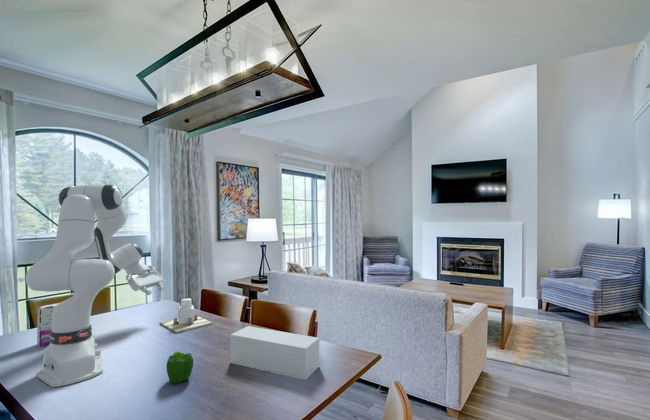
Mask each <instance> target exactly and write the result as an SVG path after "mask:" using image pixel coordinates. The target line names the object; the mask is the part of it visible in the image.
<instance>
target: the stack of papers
mask: <svg viewBox="0 0 650 420" xmlns="http://www.w3.org/2000/svg"><path fill="white" fill-rule="evenodd" d="M229 336H230V339H229V340H230V348H229V350H230V352H229V353H230V356H229V358H230V360H229V363H230V364H234V365H238V366H243V367H247V368H252V369H255V368H256V369H255V370H260V369H261V370H260V371H264V370H266V371H265V372H268V371H270V372H269V373H273V372H274V374H277V373H278V374H277V375H281V374H283V375H282V376H286V375H287V376H286V377H290V376H291V378H296V379H299V380H305V381H306V380H308V379H309V378H310V377H311V375H312V374H314V373H315V372H316V371H317V370H318V368H320V338H319V337H315V336H310V335H304V334H298V333H293V332H292V333H291V332H286V331H279V330H275V329H268V328H263V327H262V328H261V327H256V326H249V325H248V326H246V327H244V328H241V329H238V330H237V331H235V332H233V333H230V335H229Z"/></svg>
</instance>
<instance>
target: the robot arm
mask: <svg viewBox="0 0 650 420" xmlns="http://www.w3.org/2000/svg"><path fill="white" fill-rule="evenodd" d="M58 202H59V205H60V211H59V214H58V220H57V230H56V235H55V240H54V243H53V246H52V247H51V250H49V252H48V253H47V254H46V255H45V256H44V257H43V258H42V259H40V260H39V261H37V262H36V263H34V264H32V265H31V266H30V267H29V268H28V270H27V272H26V274H25V283H26V284H27V286H28V288H29V289H30V290H31V291H35V292H36V291H37V292H46V293H49V292H61V291H73V295H72V296H70V297H68V298H66V299H65V300H63V301H61V302H58V303H59V304H58V305H56V306H55V308H54V309H53V311H52V330H51V331H50V337H49V338H50V342H51V343H50V344H49V345H47V347H45V348H44V350H43V360H42V369H41V370H38V371H37V372H36V373H35V377H36V378H37V379H39V380H41V381H42V382H43V383H45V384H46V385H47V386H49V387H51V388H57V387H63V386H68V385H72V384H76V383H79V382H83V381H86V380H88V379H92V378H94V377H97V376H98V375H101V374H102V373H103V362H102V360H103V359H102V356H101V349H100V348H99V349H96V348H98V347H99V345H98V343H96V338H95V337H94V336H92V335H93V333H92V332H93V328H92V324H91V315H92V314H91V313H92V307H93V303H94V301H95V299H96V297H97V295H98V294H99V293H100V292H101V291H102V290H103V289H104V288H105V287H107V286H108V285H109V284H110V283H111V282H112V281H113V280H114V277H115V275H116V274H118V273H119V272H121V271H122V270H124V271H125V272H126V277H125V280H126V282H127V283H128V285H129V287H130V289H132V290H133V292H138V291H141V292H143V293H145V294H146V295H147V296H150V295H151V294H152V293H153V292H152V290H151V289H148V288H152V287H155V286H156V287H157V288H158V289H157V291H159V292H162V291H163V290H165V289H164V287H163V285H162V283H163V282H164V277H163V276H162V274H160V272H159V271H157V270H156V268H155V266H153V265H147V264H145V263H144V262H142V261H141V259H142V256H143V254H144V253H143V249H142V248H141V247H140V246H139V245H138V244H137V243H135V242H129V243H126V244H124V245H122V246H119V247H118V248H117V249H116V250H113V251H112V252H111V249H110V246H109V245H110V243H109V242H110V240H111V238H112V237H113V236H114V235H115V234H116V233H117V232H118V231H119V230H120V229H122V228H123V227H124V225H125V223H126V222H127V214H126V210H125V208H124V205H123V194H122V191H121V190H120V188H119V187H117V186H116V185H113V184H84V185H83V184H81V185H76V186H74V185H71V186H67V187H64V188H62V190H61V191H60V192H59V193H58ZM96 219H97V220H96ZM95 220H96V221H97V222H96V223H97V224H96V226H95ZM94 241H95V246H96V250H97V254H98V258H82V259H81V258H80V259H73V258H74V256H75V254H77V253H79V252H81V251H83V250H85V249H87V248H89V247H90V246H91V245H92V244H93V242H94Z"/></svg>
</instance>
